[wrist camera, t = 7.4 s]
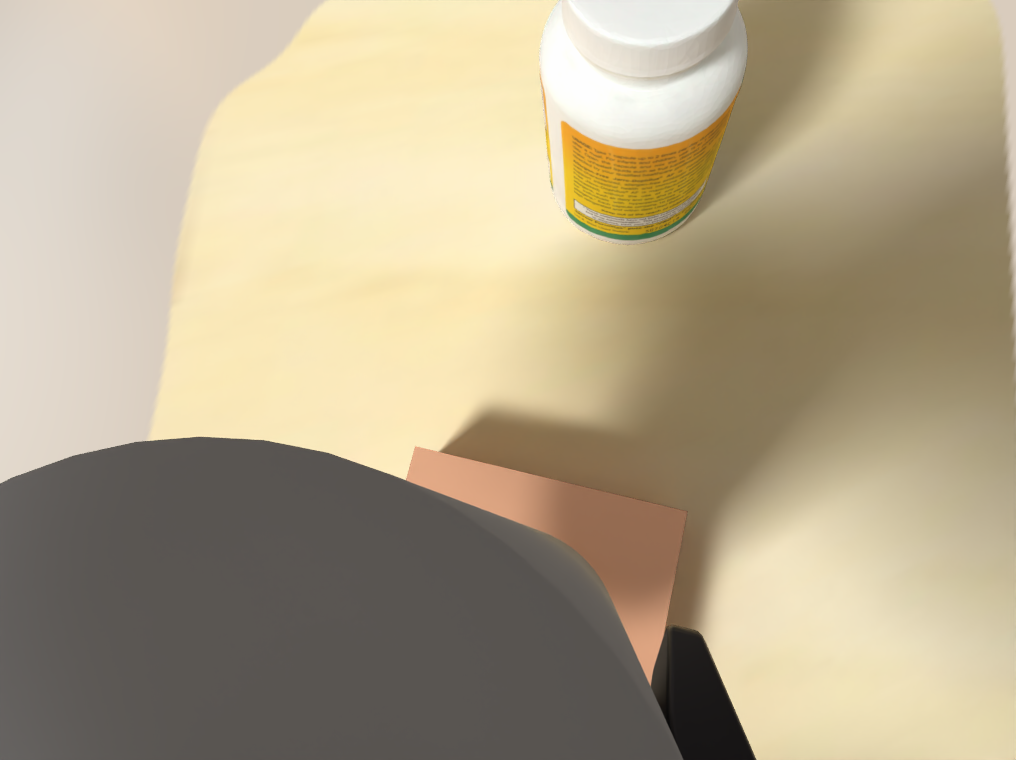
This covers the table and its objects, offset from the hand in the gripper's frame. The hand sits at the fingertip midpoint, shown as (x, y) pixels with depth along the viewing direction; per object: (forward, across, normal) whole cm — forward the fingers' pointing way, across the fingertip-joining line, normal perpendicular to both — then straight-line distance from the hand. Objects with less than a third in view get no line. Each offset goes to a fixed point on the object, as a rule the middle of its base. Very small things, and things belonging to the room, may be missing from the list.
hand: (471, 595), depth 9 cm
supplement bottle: (+19, 0, 0) cm, 19 cm away
